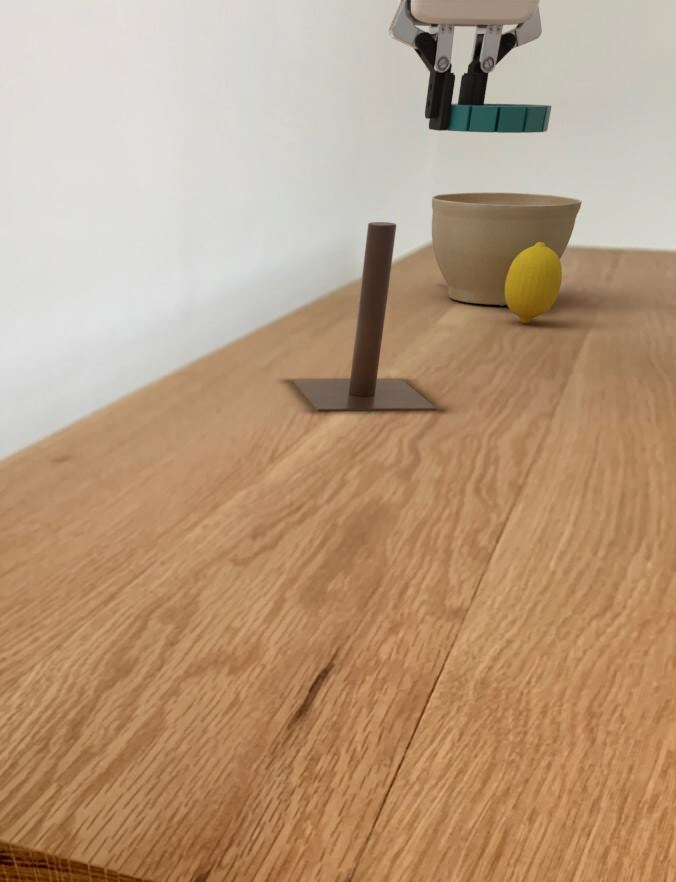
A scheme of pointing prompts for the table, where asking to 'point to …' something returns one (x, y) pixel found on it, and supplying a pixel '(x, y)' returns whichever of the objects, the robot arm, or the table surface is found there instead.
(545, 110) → the ring
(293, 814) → the table surface
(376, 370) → the peg stand
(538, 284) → the lemon
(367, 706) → the table surface
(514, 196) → the planter bowl
